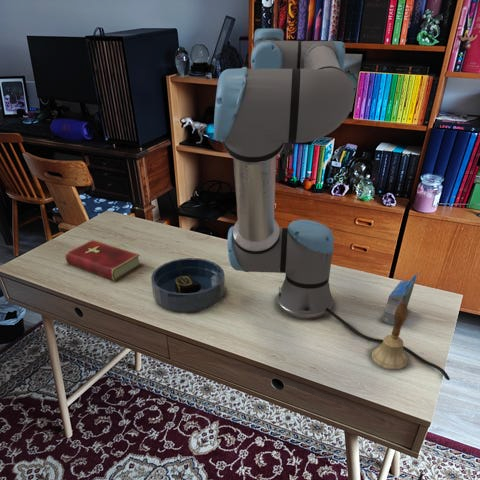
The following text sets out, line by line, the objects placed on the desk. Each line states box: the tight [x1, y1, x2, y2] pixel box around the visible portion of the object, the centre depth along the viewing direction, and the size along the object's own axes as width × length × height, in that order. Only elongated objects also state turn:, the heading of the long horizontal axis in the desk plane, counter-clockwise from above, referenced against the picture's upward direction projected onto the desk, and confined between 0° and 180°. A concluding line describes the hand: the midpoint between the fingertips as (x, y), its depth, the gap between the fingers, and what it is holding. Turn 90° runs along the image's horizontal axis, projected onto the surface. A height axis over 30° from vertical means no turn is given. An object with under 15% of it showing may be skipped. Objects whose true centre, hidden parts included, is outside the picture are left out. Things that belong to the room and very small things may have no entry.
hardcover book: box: [64, 239, 142, 282], centre depth 142 cm, size 12×21×4 cm, turn 58°
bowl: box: [150, 257, 226, 313], centre depth 127 cm, size 21×21×6 cm
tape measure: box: [174, 275, 201, 293], centre depth 127 cm, size 7×7×4 cm
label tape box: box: [382, 271, 418, 326], centre depth 116 cm, size 9×4×12 cm, turn 145°
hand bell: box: [371, 301, 409, 371], centre depth 100 cm, size 8×8×16 cm
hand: (264, 174), depth 133 cm, fingers open, 13 cm apart
